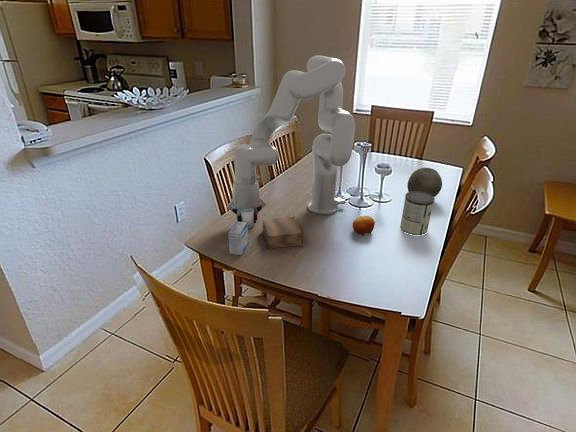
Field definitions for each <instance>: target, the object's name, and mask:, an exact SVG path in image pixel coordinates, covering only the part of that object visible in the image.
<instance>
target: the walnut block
mask: <svg viewBox="0 0 576 432" xmlns="http://www.w3.org/2000/svg"><path fill="white" fill-rule="evenodd" d="M262 233H263V236H264V239H265V243H266V244H267V248H268V249H276V248H277V249H278V248H285V247H295V246H302V245H303V231H302V229H301V227H300V225H299V224H298V222H297V219H296V217H295V216H287V217H279V218H267V219H265V218H264V219H262Z"/></svg>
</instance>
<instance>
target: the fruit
mask: <svg viewBox="0 0 576 432" xmlns="http://www.w3.org/2000/svg"><path fill="white" fill-rule="evenodd" d="M375 224H376V222H375V220H374V218H373V217H372V216H370V215H364V216H357V217H356V218H355V219H354V220H353V222H352V229H353V231H354V232H355V234H357V235H360V236H362V237H364V236H365V235H371V236H373V234H372V232H373V231H374V229H375Z"/></svg>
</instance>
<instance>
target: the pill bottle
mask: <svg viewBox="0 0 576 432" xmlns="http://www.w3.org/2000/svg"><path fill="white" fill-rule="evenodd" d="M240 213H241V222H245V223H248V229H250V228H253V227H254V226H255V223H254V208H245V209H241V212H240Z"/></svg>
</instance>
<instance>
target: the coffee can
mask: <svg viewBox="0 0 576 432" xmlns="http://www.w3.org/2000/svg"><path fill="white" fill-rule="evenodd" d="M404 197H405V198H404V203H403V209H402V215H401V221H400V225H399V229H400V228H401V230H402V231H403V232H402V231H401V230H400V231H401V232H402V233H404V232H406V233H408V234H412V235H422V234H425V233H426V232H427V233H428V230H429V225H430V222H431V221H430V220H431V216H432V211H433V207H434V203H435V197H433V196H432V195H430V194H428V193H425V192H421V191H411V192H408V191H407V192H406V193H405V196H404ZM408 234H407V235H408ZM425 235H426V234H425Z"/></svg>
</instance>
